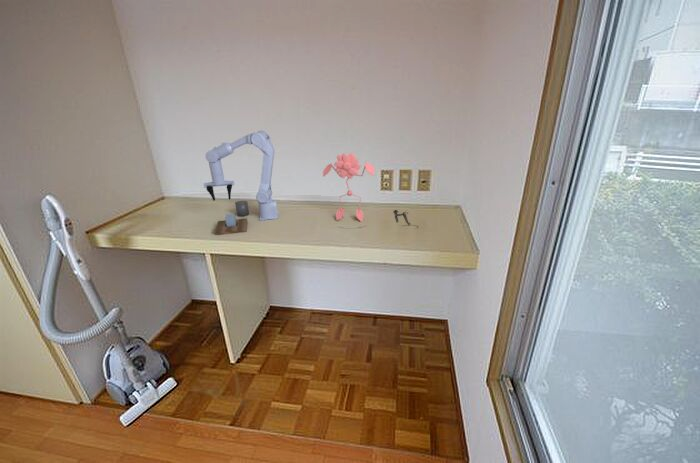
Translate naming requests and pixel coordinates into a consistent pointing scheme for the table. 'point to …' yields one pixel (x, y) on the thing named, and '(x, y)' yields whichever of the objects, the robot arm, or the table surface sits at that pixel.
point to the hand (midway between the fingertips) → (222, 199)
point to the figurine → (348, 168)
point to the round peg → (242, 208)
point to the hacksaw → (404, 217)
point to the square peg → (230, 220)
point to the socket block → (231, 227)
